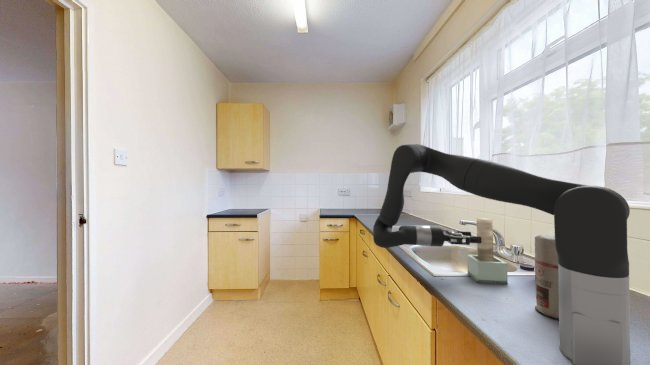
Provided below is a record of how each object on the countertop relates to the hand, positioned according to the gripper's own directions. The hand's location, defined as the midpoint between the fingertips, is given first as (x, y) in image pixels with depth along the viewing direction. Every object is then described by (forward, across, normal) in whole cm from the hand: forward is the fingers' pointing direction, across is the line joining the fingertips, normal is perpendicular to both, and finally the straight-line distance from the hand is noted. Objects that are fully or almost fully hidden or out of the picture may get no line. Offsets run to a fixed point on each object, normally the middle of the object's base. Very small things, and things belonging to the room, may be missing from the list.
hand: (475, 237), depth 88 cm
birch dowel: (+3, 0, +14) cm, 14 cm away
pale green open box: (+3, 0, +15) cm, 15 cm away
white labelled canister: (+10, -23, +15) cm, 29 cm away
